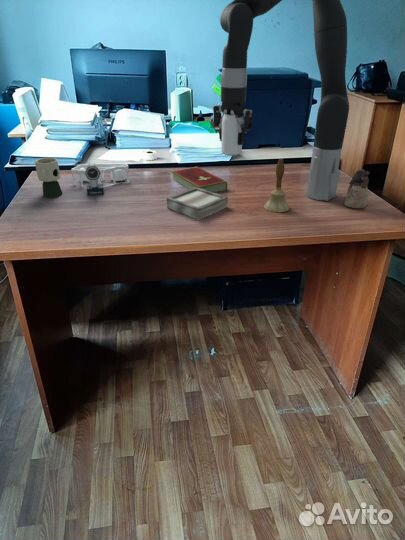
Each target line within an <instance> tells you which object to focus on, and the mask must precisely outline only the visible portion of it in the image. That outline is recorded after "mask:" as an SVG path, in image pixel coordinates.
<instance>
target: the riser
mask: <svg viewBox="0 0 405 540" xmlns="http://www.w3.org/2000/svg"><path fill="white" fill-rule="evenodd" d="M228 198H229V197H228V196H227V195H223V194H219V193H217V192H210V191H207V190H204V189H200V188H197V187H195V188H193V189H187V190H185V191H182V192H179V193H176V194H173V195H171V196H169V197H166V208H168V209H171V210H172V211H175V212H178V213H180V214H182V215H185V216H187V215H188V216H187V217H190V216H191V217H190V218H192V217H193V218H192V219H195V218H196V219H195V220H197V219H200V220H202V219H204V217H205V218H206V216H207V217H209V216H211V215H214V214H216V213H218V212H220V211H223V210H224V209H226V208H228V204H229V203H228V200H229V199H228ZM213 213H214V214H213ZM208 215H209V216H208ZM201 218H202V219H201Z"/></svg>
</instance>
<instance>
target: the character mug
mask: <svg viewBox="0 0 405 540" xmlns="http://www.w3.org/2000/svg"><path fill="white" fill-rule="evenodd" d="M34 164H35V170H36V173H37V179H38V181H39V182H42V195H43V197H44V198H46V199H56V198H59V197H61V196H62V194H63V191H62V187H61V185H60V183H59V181H58V180H60V179H61V173H60V167H59V161H58V159H57V158H56V157H42V158H38V159H35V160H34Z"/></svg>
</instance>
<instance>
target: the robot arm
mask: <svg viewBox="0 0 405 540" xmlns="http://www.w3.org/2000/svg"><path fill="white" fill-rule="evenodd" d="M282 1H283V0H233V1H231V2H230V3H228V4H227V5H225V7H224V8H223V9H222V11H221V13H220V17H219V23H220V27H221V29H222V30H223V31H224V32H226V33H227V34H228V35H227V36H228V37H227V43H226V45H225V46H224V47H223V49H222V68H221V76H220V102H221V104H220V105H214V106H213V125H214V126H215V127H217V128H218V130H219V137H218V138H219V141H220V142H222V118H223V116H224V114H230V115H235V119H236V125H237V126H238V131H239V133H238V145H242V146H243V145H244V143H245V142H246V132H248V131H252V125H253V118H254V110H253V109H246V107H245V104H246V101H247V86H248V85H247V82H248V71H247V67H248V50H249V46H250V42H251V38H252V33H253V27H254V19H255V18H257V17H259V16H263V15H264V14H266V13H269V12H270V11H271V10H272V9H273V8H275V6H277V5H278V4H280V3H281V2H282ZM311 2H312V15H313V16H312V17H313V33H314V35H313V37H314V50H315V57H316V61H317V65H318V66H317V67H318V70H319V76H320V81H321V82H320V88H321V89H320V90H321V91H320V104H319V106H318V110H317V116H316V122H315V129H314V130H315V131H314V139H313V145H312V146H313V147H312V153H311V161H310V167H309V173H308V174H309V175H308V180H307V187H306V194H305V195H306V196H307V197H308V198H310V199H312V200H315V201H316V200H317V201H326V202H329V201H331V200H332V199H335V197H336V196H337V195H336V194H337V190H338V186H339V185H338V184H339V180H340V179H339V178H340V173H341V170H340V169H339V166H340V162H341V161H340V160H341V155H342V150H343V146H344V141H345V134H346V129H347V123H348V119H349V114H350V113H349V112H350V101H349V97H348V90H347V82H346V81H347V80H346V66H347V57H348V56H347V55H348V21H347V15H346V12H345V9H344V7H343V4H342V3H341V0H312V1H311ZM236 115H237V116H236ZM237 117H238V118H240V117H242V118H243V121H240V122H239V121H238V118H237ZM241 124H242V127H241Z"/></svg>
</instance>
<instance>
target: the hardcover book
mask: <svg viewBox="0 0 405 540" xmlns="http://www.w3.org/2000/svg"><path fill="white" fill-rule="evenodd" d="M170 173H171V175H172V179H173V180H174V181H176V182H177V183H179V184H181V185H182V186H183V187H185V188H186V189H187V190H190V189H193V188H195V187H197V188H200V189H204V190H207V191H210V192H213V193H217V192H222V191H227V190H228V182H227V180H224V179H222V178H220V177H218V176H217V175H214V174H213V173H210V172H208V171H207V170H205V169H202V168H201V167H199V166H193V167H187V168H182V169H176V170H171V171H170Z"/></svg>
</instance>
